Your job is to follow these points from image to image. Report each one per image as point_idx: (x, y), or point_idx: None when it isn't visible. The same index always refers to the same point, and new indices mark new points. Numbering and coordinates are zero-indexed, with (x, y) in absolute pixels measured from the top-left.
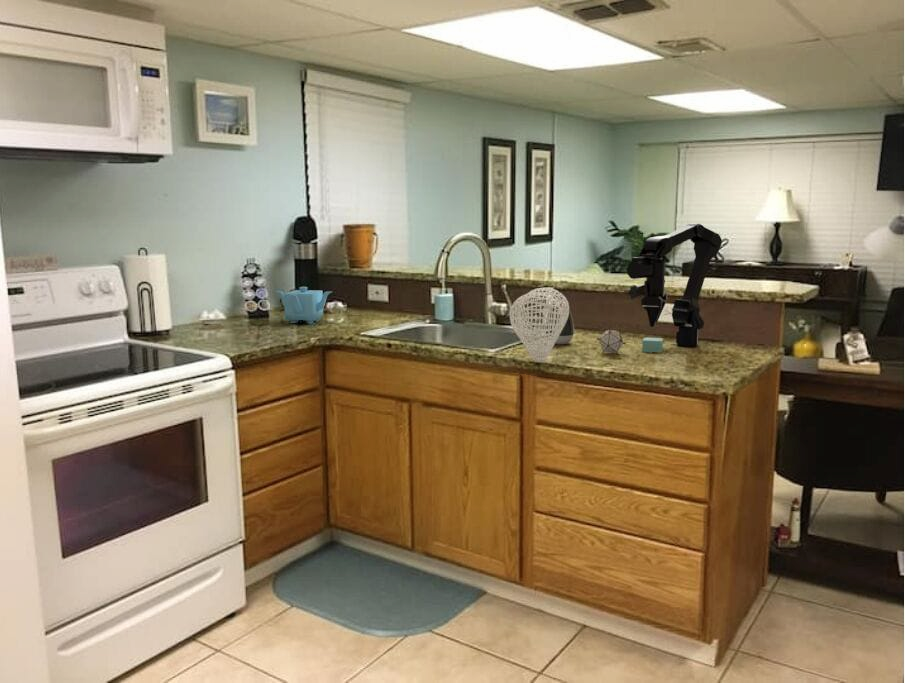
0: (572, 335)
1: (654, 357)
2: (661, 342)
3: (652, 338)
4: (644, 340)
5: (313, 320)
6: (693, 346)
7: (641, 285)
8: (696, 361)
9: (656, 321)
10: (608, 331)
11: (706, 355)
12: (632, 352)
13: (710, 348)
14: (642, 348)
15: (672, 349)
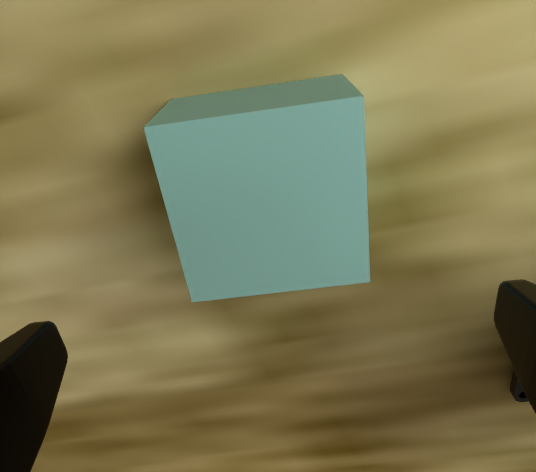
0: None
1: (2, 244)
2: (201, 294)
3: (326, 195)
4: (154, 148)
5: None
6: (511, 382)
7: None
8: (58, 446)
9: (501, 326)
10: None
11: (259, 458)
12: (89, 18)
13: (493, 447)
14: (164, 108)
15: (388, 285)
